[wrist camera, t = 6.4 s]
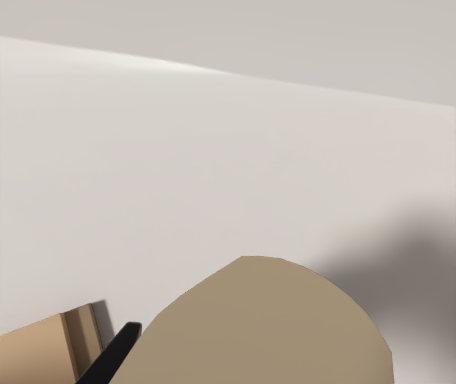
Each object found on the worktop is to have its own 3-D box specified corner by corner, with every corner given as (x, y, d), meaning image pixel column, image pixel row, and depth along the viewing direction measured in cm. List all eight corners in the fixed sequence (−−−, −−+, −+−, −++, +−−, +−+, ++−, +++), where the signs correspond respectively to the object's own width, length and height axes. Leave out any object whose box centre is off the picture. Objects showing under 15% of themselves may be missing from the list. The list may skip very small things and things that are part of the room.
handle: (259, 322, 20) (437, 348, 6) (204, 428, 17) (284, 897, 3) (196, 280, 20) (221, 212, 6) (133, 378, 18) (-48, 621, 4)
